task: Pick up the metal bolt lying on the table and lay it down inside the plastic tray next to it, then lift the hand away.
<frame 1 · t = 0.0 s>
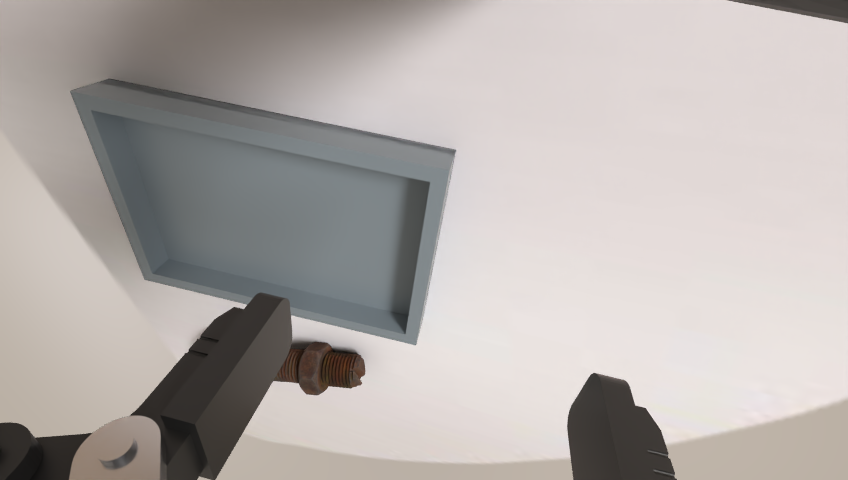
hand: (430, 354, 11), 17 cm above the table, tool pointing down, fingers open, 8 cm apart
bolt: (299, 345, 42), on the table
tray: (286, 213, 31), on the table
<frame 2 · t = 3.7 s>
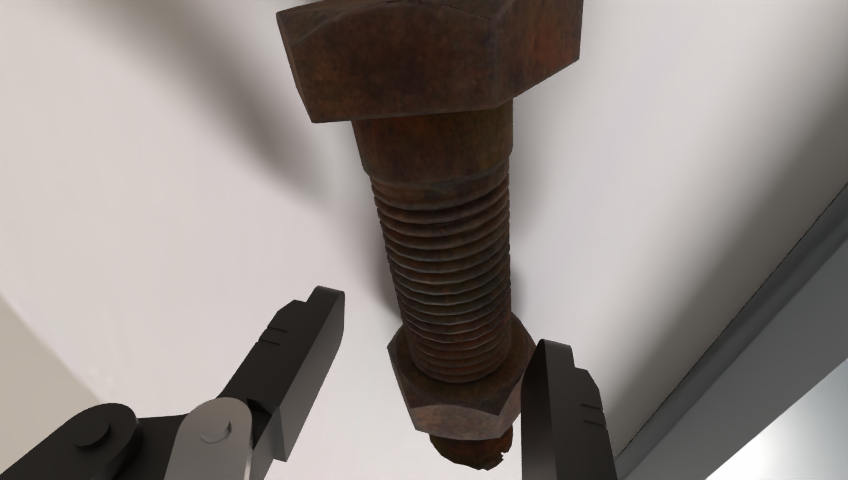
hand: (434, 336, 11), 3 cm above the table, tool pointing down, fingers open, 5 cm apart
bolt: (458, 244, 14), on the table, touching gripper
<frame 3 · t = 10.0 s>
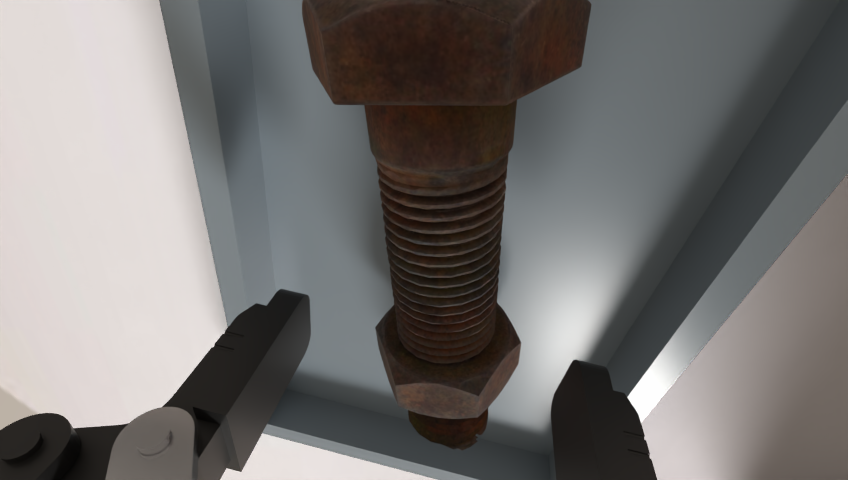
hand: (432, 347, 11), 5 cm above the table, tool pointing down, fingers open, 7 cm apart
bolt: (450, 234, 14), point 1 cm above the table, touching tray
tray: (455, 239, 15), on the table
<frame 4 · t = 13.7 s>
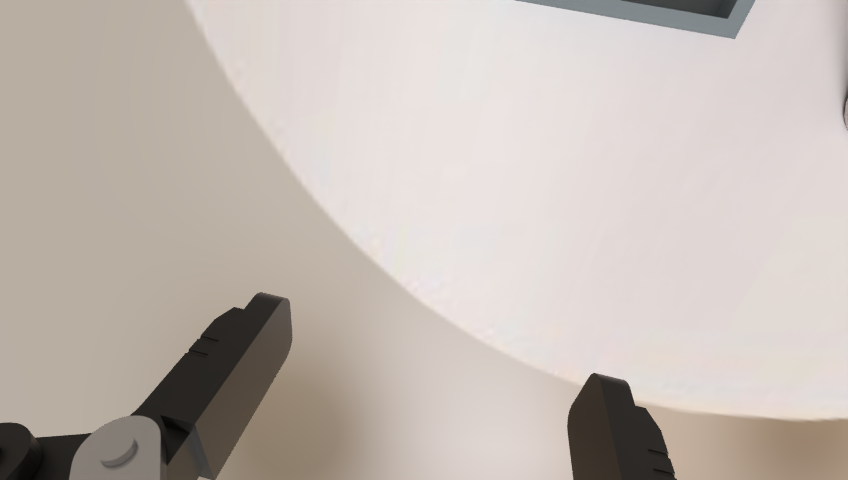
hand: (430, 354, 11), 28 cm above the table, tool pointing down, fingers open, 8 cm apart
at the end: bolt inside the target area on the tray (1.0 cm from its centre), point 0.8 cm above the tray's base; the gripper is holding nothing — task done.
